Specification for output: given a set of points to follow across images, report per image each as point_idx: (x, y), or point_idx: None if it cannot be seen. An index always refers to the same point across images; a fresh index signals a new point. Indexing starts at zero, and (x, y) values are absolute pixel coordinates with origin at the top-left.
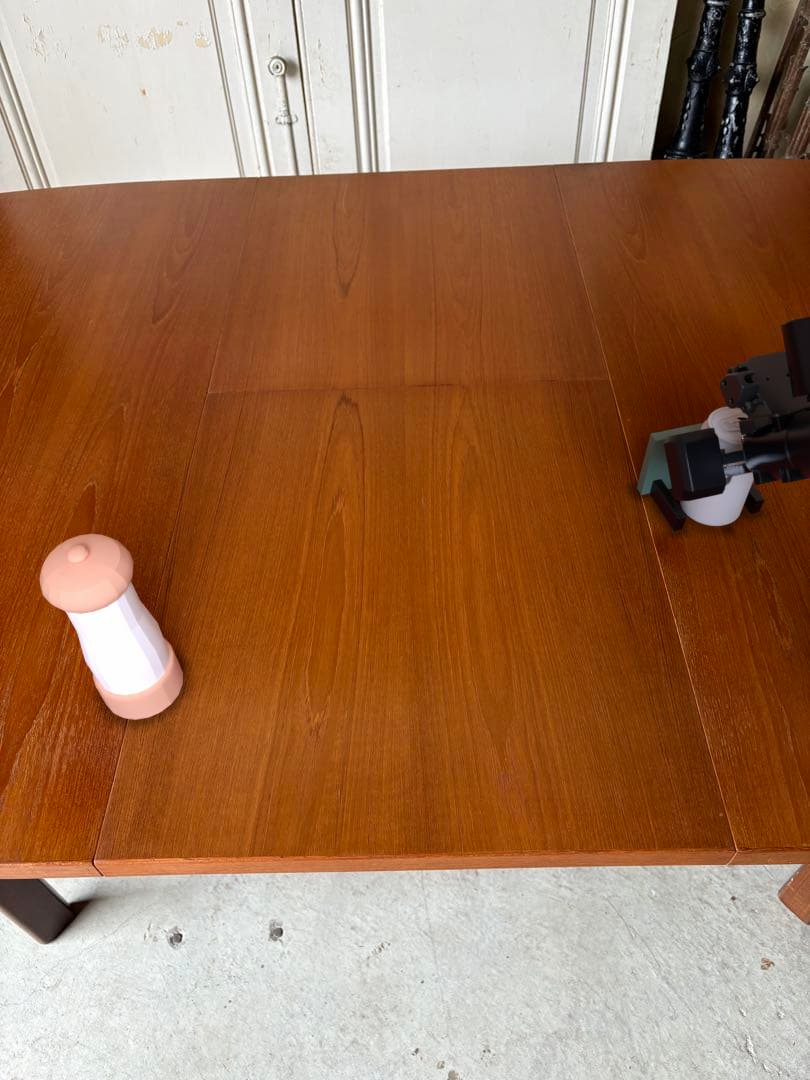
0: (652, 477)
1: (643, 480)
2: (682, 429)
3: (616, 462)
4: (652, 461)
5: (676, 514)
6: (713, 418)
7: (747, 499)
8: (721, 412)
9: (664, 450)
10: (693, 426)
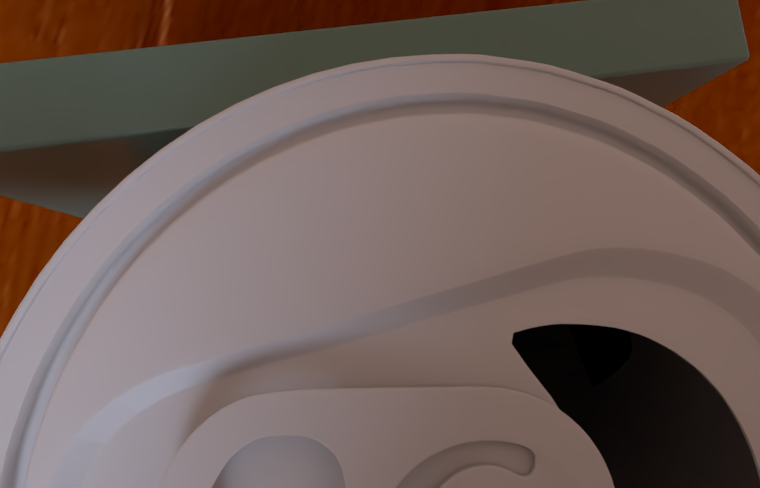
0: None
1: None
2: (154, 71)
3: (99, 42)
4: (39, 203)
5: None
6: (117, 308)
7: None
8: (319, 171)
9: (64, 180)
10: (253, 51)
